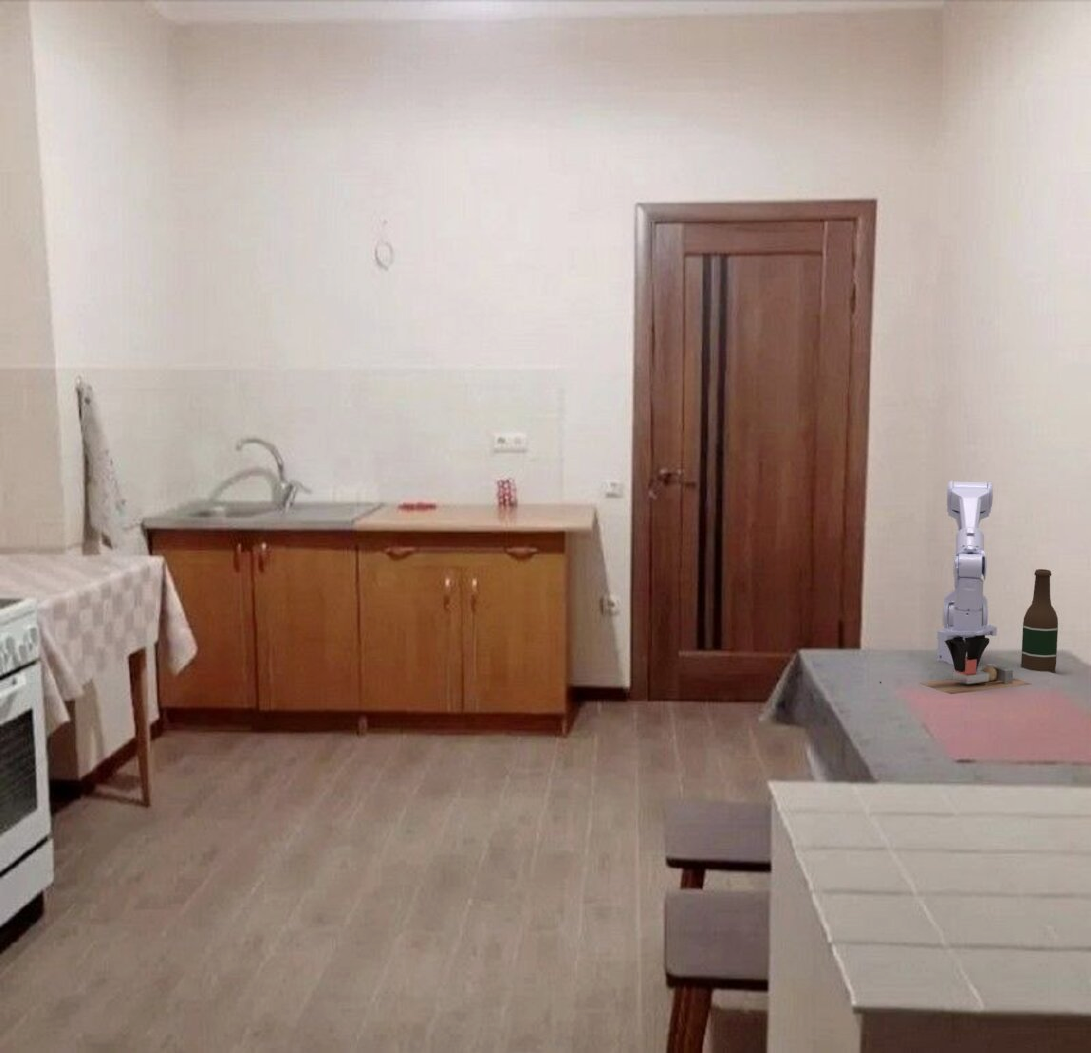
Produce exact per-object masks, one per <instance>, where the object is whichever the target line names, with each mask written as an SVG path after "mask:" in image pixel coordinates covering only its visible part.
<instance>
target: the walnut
mask: <svg viewBox="0 0 1091 1053" xmlns="http://www.w3.org/2000/svg"><path fill="white" fill-rule="evenodd" d="M980 671H984V672H987V673H989V681H988V682H992V681H994V680H995V679H996V677H997V672H996V670H995V669H994V668H993V667H991V666H986V665H985V666H983V667H982V668H981V669H980Z"/></svg>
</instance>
